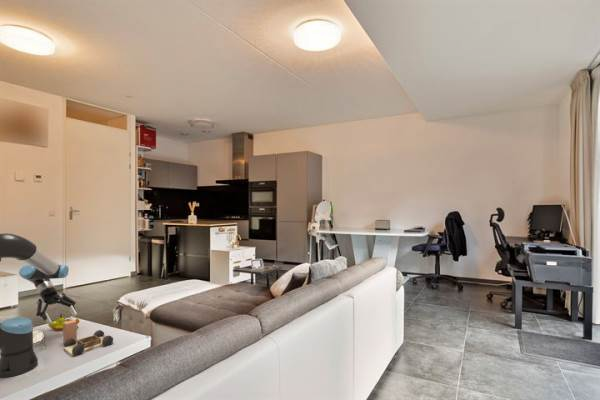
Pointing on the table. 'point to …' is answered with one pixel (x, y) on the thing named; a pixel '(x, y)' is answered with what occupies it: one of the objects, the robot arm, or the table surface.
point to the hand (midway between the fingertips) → (63, 319)
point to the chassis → (87, 343)
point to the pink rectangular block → (69, 330)
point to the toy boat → (61, 323)
